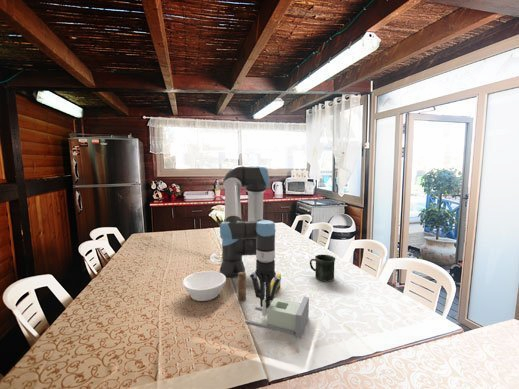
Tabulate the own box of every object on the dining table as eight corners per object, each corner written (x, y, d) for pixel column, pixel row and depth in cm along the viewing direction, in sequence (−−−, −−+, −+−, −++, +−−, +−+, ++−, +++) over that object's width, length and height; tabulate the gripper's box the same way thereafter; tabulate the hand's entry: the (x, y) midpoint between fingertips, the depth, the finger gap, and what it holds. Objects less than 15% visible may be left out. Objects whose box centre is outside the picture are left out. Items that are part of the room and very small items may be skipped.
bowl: (233, 288, 135) (233, 273, 134) (213, 310, 115) (212, 292, 114) (198, 282, 141) (197, 268, 140) (174, 302, 122) (173, 285, 121)
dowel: (237, 302, 121) (236, 274, 119) (240, 299, 124) (240, 271, 122) (243, 304, 119) (243, 275, 118) (247, 300, 123) (246, 272, 121)
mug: (331, 284, 140) (332, 262, 138) (306, 278, 147) (306, 257, 146) (337, 276, 149) (337, 256, 147) (312, 271, 156) (313, 252, 155)
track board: (241, 326, 103) (241, 302, 102) (255, 308, 116) (255, 287, 115) (300, 341, 94) (301, 315, 93) (308, 320, 107) (308, 297, 106)
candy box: (269, 304, 119) (269, 287, 119) (265, 303, 120) (265, 286, 119) (280, 289, 134) (281, 273, 133) (277, 288, 135) (277, 273, 134)
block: (267, 325, 101) (267, 308, 101) (274, 313, 110) (274, 297, 109) (297, 332, 97) (297, 315, 96) (302, 319, 105) (302, 303, 104)
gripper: (246, 260, 102) (247, 315, 105) (277, 265, 98) (277, 323, 100) (254, 254, 109) (254, 306, 112) (283, 258, 104) (282, 313, 107)
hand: (265, 314), depth 106 cm, fingers closed
